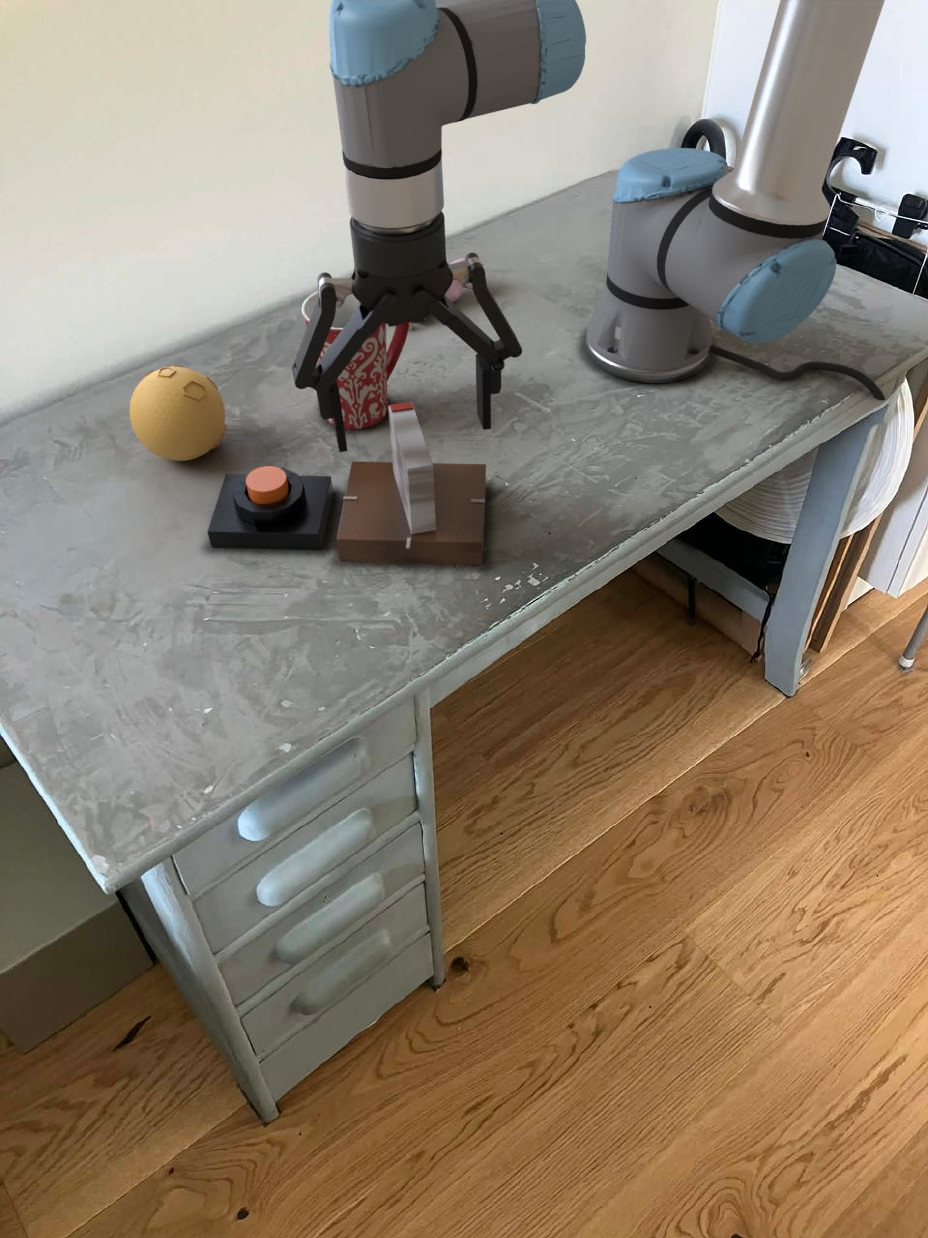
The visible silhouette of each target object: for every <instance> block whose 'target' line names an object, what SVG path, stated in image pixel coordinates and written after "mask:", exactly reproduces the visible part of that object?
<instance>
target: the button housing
mask: <svg viewBox="0 0 928 1238" xmlns="http://www.w3.org/2000/svg"><path fill="white" fill-rule="evenodd" d="M279 468H280V469H282V470H283V471H284V472H285V473H286V476H287V482H288V488H289V493H288V495H287V497H286V498H284V499H283V500H282V501H279V502H276V503H273V504H257V503H254V502H253V501H252V500H251V499H250V498H249V495H248V490H247V485H246V477H247V476H248V474H249V473H250V472H251V471H250V472H248V473H246V474H245V473H243V474H242V473H241V474H240V473H226V474H225V477H224V480H223V483H222V485H221V489H220V491H219V494H218V498H217V500H216V504H215V507H214V511H213V514H212V517H211V519H210V522H209V526H208V529H207V536H208V539H209V543H210V547H211V549H245V550H246V549H248V550H281V551H282V550H286V551H287V550H288V551H322V548H323V543H324V538H325V534H326V530H327V529H326V528H327V523H328V519H329V514H330V511H331V504H332V500H333V495H334V488H333V482H332V476H330V475H299V474H297V473H296V472H294V471H291V470H289V469H286V468H284V467H279Z"/></svg>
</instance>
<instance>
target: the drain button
mask: <svg viewBox="0 0 928 1238" xmlns="http://www.w3.org/2000/svg"><path fill="white" fill-rule="evenodd" d="M280 468H281V467H277V466H273V465H264V466H259V467H257V468H254V469H252V470H251V471H250V473H249V472H248V473H249V474H248V476H247V477H246V485H247V490H248V495H249V498H250V499H251V500H252V501H253V502H254V503H257V504H273V503H276V502H279V501H282V500H283V499H284V498H286V497H287V495H288V493H289V488H288V482H287V476H286V473H285V472H284V471H283V470H282V469H280Z"/></svg>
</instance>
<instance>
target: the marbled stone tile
mask: <svg viewBox="0 0 928 1238" xmlns="http://www.w3.org/2000/svg"><path fill="white" fill-rule="evenodd" d="M387 411H388V422H389V423H388V424H389V432H390V433H389V435H390V447H391V449H390V450H391V460H392V461H391V462H393V472H394V475H395V479H396V482H397V486H398V489H399V493H400V496H401V499H402V503H403V506H404V510H405V513H406V517H407V520H408V524H409V527H410V530H411V534H417V533H423V532H429V531H435V530H436V521H435V496H434V471H433V463H434V462H433V460H432V457H431V454H430V451H429V448H428V444H427V442H426V439H425V436H424V433H423V430H422V427H421V424H420V421H419V418H418V415H417V412H416V408H415V406H414V404H413V402H412V401H407V402H400V403H392V404H389V405H387Z"/></svg>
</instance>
